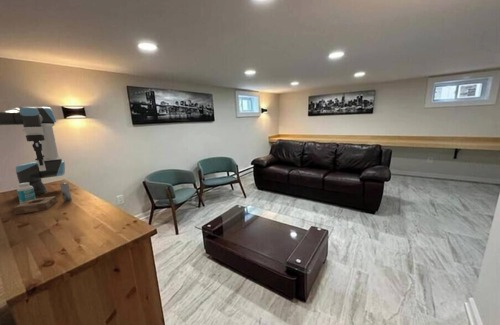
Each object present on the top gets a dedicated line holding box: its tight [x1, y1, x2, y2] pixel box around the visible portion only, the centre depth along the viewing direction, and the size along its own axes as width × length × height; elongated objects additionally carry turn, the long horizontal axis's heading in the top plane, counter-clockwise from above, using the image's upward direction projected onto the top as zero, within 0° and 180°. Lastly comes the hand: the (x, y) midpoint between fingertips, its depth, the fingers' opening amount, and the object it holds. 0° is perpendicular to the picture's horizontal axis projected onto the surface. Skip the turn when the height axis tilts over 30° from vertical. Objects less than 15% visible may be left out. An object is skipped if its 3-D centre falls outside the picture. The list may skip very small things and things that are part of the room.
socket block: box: [13, 195, 58, 215], centre depth 128 cm, size 14×14×4 cm
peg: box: [59, 182, 72, 202], centre depth 137 cm, size 4×4×12 cm
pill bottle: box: [16, 182, 37, 204], centre depth 135 cm, size 8×7×14 cm
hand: (42, 169), depth 126 cm, fingers open, 13 cm apart
